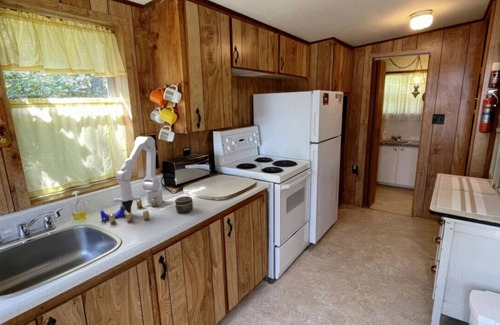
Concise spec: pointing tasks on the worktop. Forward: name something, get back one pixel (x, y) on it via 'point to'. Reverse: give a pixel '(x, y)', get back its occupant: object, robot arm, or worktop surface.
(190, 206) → the jar
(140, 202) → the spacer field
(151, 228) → the worktop surface
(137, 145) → the robot arm
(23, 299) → the worktop surface
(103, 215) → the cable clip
